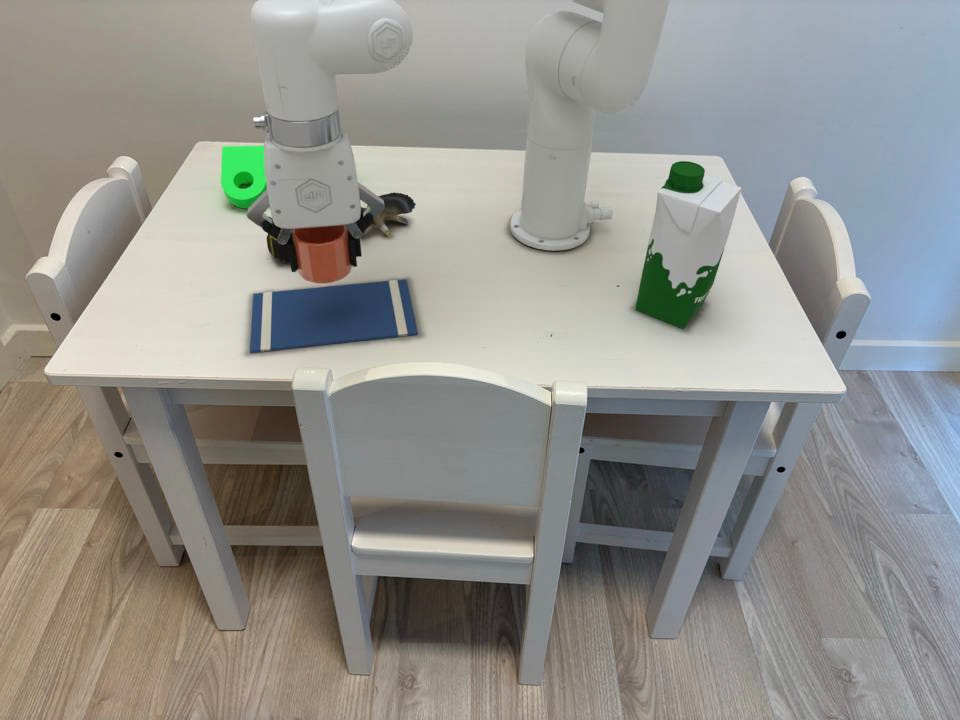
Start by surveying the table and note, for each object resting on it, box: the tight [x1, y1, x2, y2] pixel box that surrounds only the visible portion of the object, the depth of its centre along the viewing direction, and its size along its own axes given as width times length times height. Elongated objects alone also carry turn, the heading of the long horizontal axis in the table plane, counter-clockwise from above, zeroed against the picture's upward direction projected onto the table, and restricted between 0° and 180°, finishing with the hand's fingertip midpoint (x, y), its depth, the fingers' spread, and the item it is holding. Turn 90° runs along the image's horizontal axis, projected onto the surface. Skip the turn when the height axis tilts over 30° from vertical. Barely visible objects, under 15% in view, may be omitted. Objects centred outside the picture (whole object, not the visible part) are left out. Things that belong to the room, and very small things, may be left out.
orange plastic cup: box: [292, 225, 353, 284], centre depth 85 cm, size 7×7×6 cm
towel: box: [249, 278, 419, 354], centre depth 92 cm, size 21×12×1 cm, turn 102°
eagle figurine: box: [361, 191, 417, 238], centre depth 106 cm, size 8×7×9 cm
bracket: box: [220, 145, 267, 210], centre depth 114 cm, size 20×10×7 cm
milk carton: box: [635, 160, 743, 330], centre depth 88 cm, size 9×9×20 cm
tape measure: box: [266, 232, 292, 262], centre depth 101 cm, size 7×7×4 cm
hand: (324, 262), depth 86 cm, fingers closed on orange plastic cup, 6 cm apart
